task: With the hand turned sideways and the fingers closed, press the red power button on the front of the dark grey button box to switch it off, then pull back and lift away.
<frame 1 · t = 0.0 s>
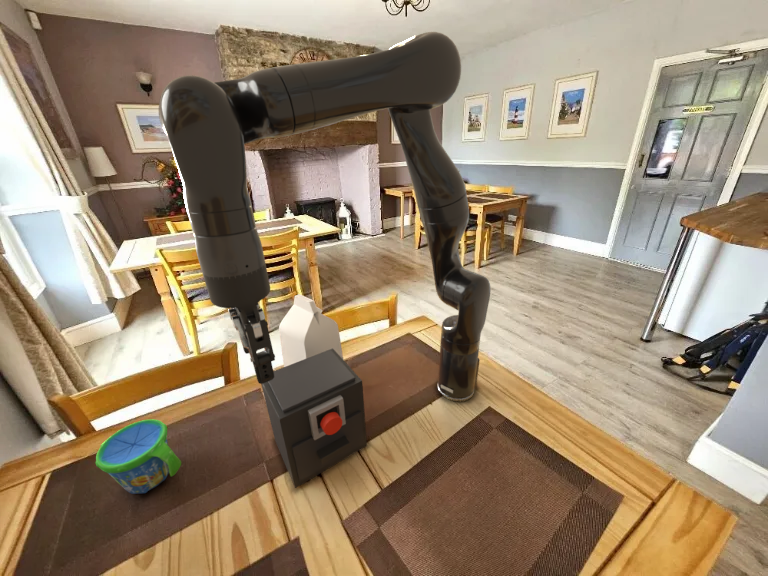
hand: (258, 364, 47), 29 cm above the table, tool pointing down, fingers open, 8 cm apart
power button: (331, 423, 55), point 14 cm above the table, slide at 0.1 cm
milk: (316, 382, 86), on the table
snack cup: (150, 477, 62), on the table
dark grey button box: (320, 443, 68), on the table
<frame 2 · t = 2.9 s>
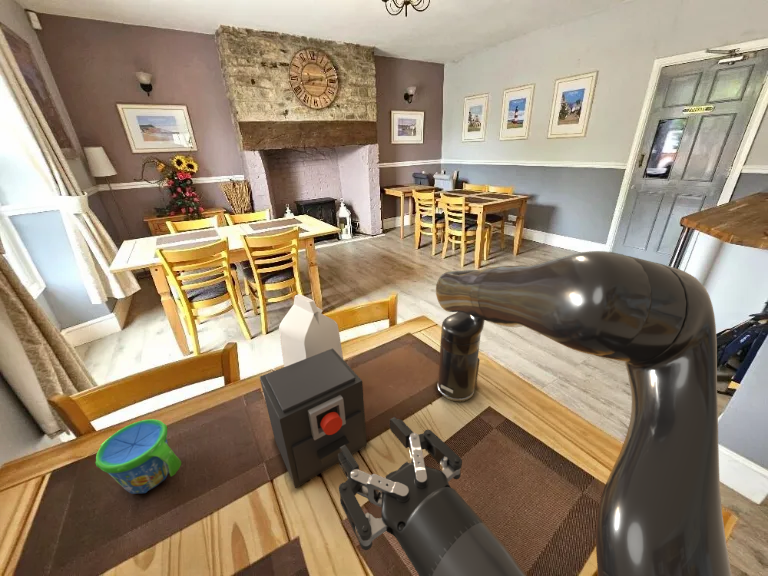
hand: (368, 436, 41), 24 cm above the table, tool horizontal, fingers open, 7 cm apart
nothing on the table moved.
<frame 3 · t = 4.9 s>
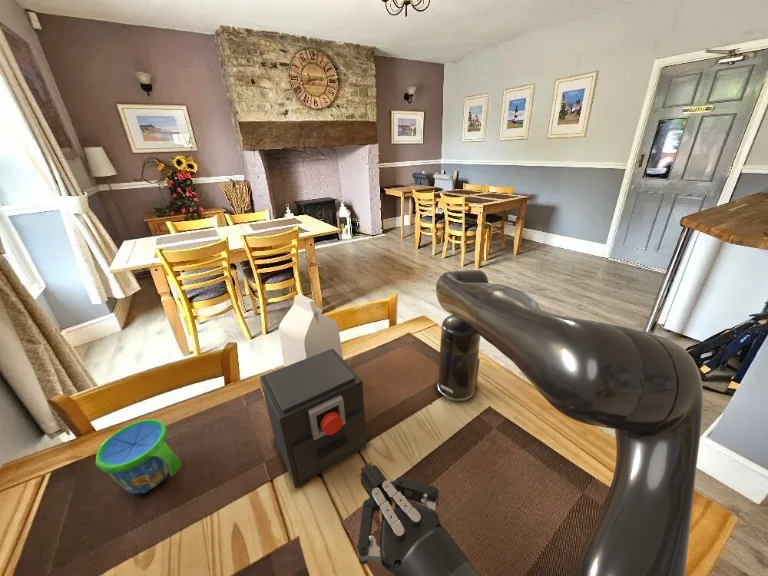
hand: (365, 469, 46), 15 cm above the table, tool horizontal, fingers closed
nothing on the table moved.
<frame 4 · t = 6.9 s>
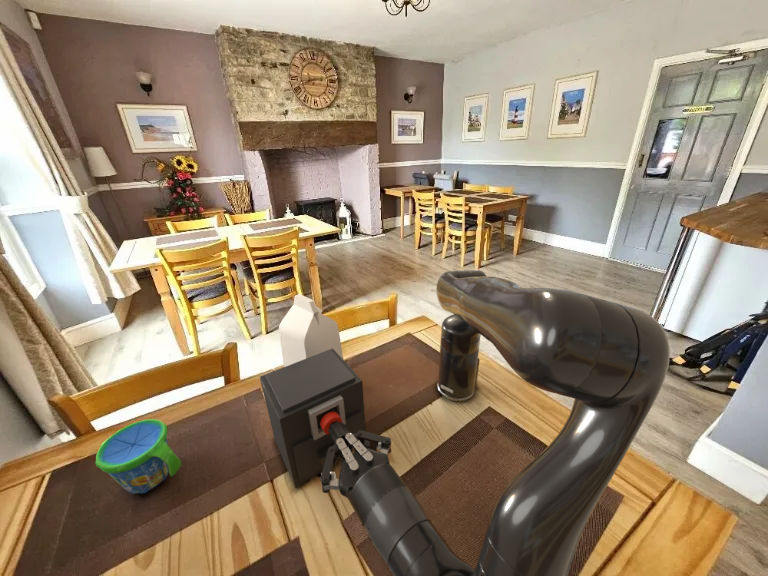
hand: (333, 426, 55), 14 cm above the table, tool horizontal, fingers closed
power button: (331, 422, 55), point 14 cm above the table, slide at 0.0 cm, touching gripper
everything else where it was.
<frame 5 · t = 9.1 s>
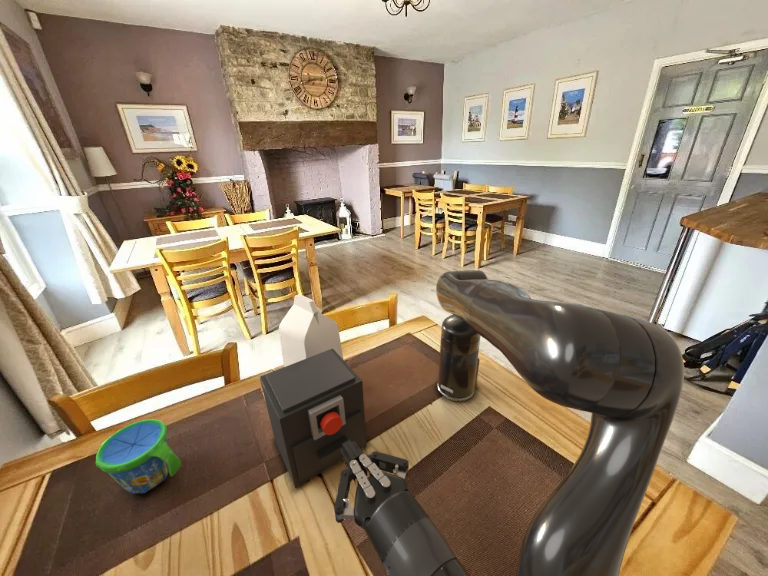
hand: (345, 445, 51), 14 cm above the table, tool horizontal, fingers closed
power button: (331, 423, 55), point 14 cm above the table, slide at 0.1 cm
everything else where it was.
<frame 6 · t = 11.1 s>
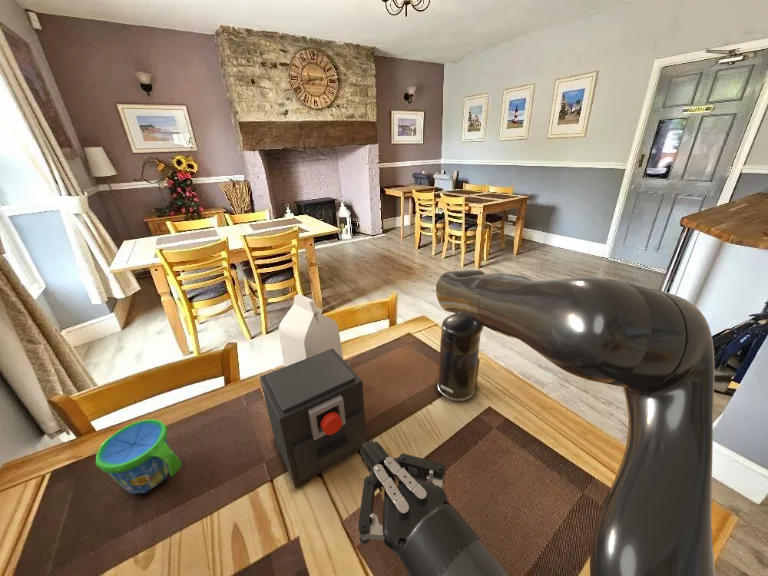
hand: (366, 446, 43), 21 cm above the table, tool horizontal, fingers closed
nothing on the table moved.
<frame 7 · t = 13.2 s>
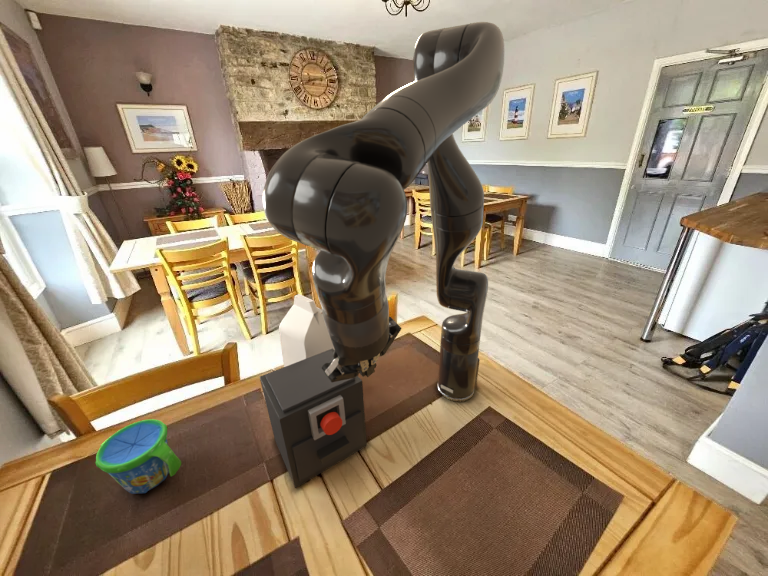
hand: (367, 370, 51), 26 cm above the table, tool tilted 30°, fingers closed
nothing on the table moved.
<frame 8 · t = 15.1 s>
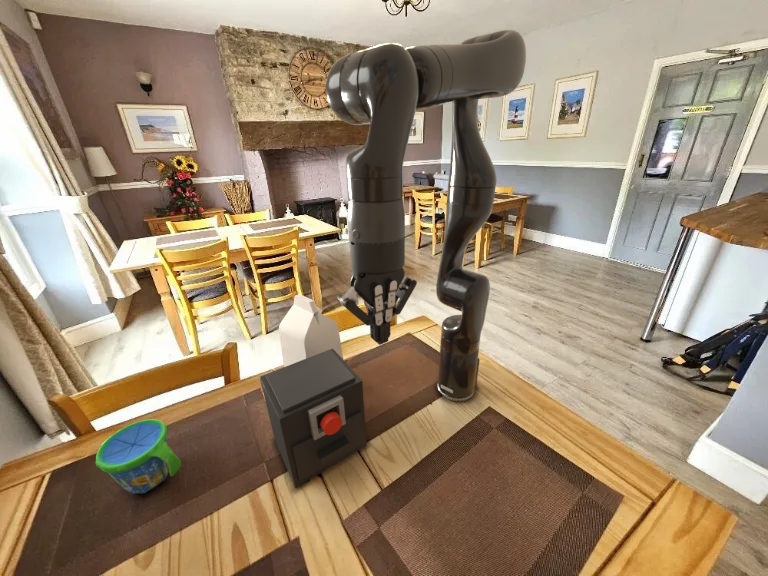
hand: (380, 340, 49), 31 cm above the table, tool pointing down, fingers closed
nothing on the table moved.
at the end: power button pushed in 1.3 cm at the most during the clip, back to where it started at the end; power button slide at 0.1 cm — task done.
